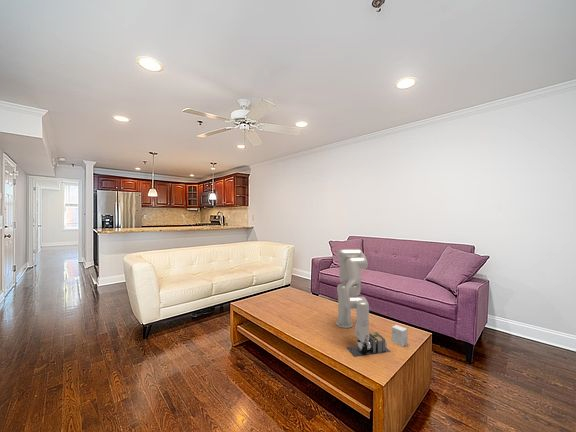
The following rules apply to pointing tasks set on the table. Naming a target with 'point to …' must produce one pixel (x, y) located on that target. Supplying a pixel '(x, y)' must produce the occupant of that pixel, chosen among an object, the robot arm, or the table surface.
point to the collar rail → (380, 346)
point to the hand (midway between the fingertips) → (362, 349)
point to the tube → (369, 347)
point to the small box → (399, 335)
